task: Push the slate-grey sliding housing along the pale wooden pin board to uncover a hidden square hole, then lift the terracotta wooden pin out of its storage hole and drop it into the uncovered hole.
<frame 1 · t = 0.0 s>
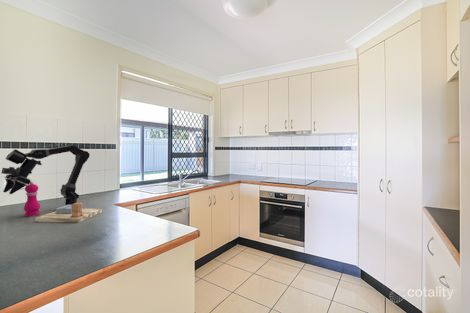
hand: (7, 193, 126), 15 cm above the counter, tool tilted 35°, fingers open, 9 cm apart
housing: (69, 208, 136), point 4 cm above the counter, slide at 0.0 cm
pepper mill: (32, 215, 135), on the counter
pin: (77, 219, 127), resting in pin board
pin board: (70, 216, 133), on the counter
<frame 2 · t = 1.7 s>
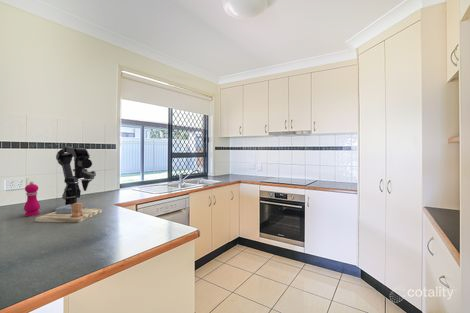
hand: (80, 192, 145), 12 cm above the counter, tool pointing down, fingers open, 8 cm apart
nothing on the counter moved.
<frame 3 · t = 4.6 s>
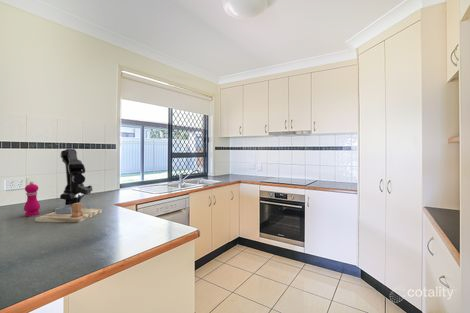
hand: (76, 207, 141), 3 cm above the counter, tool pointing down, fingers closed
housing: (69, 209, 135), point 4 cm above the counter, slide at 0.4 cm, touching gripper
everything else where it was.
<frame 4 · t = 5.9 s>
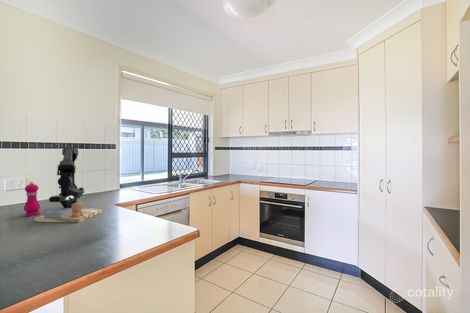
hand: (67, 210, 134), 3 cm above the counter, tool pointing down, fingers closed
housing: (59, 212, 128), point 4 cm above the counter, slide at 7.9 cm, touching gripper
everything else where it was.
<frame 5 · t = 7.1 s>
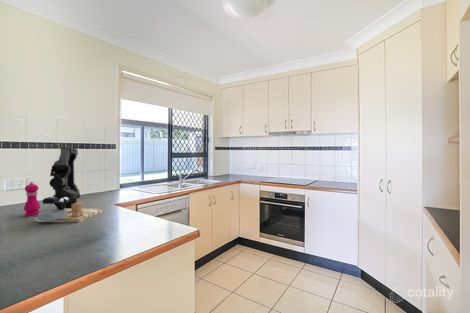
hand: (61, 212, 130), 3 cm above the counter, tool pointing down, fingers closed
housing: (53, 214, 124), point 4 cm above the counter, slide at 11.9 cm, touching gripper
everything else where it was.
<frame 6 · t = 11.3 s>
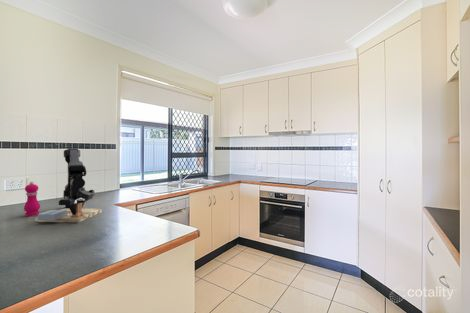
hand: (77, 214, 127), 3 cm above the counter, tool pointing down, fingers closed on pin, 3 cm apart
housing: (52, 214, 124), point 4 cm above the counter, slide at 11.9 cm
pin: (77, 219, 127), resting in pin board, touching gripper
everything else where it was.
when the fingers open (4 cm above the counter, at t = 15.9 s): pin drops 1 cm, resting in pin board.
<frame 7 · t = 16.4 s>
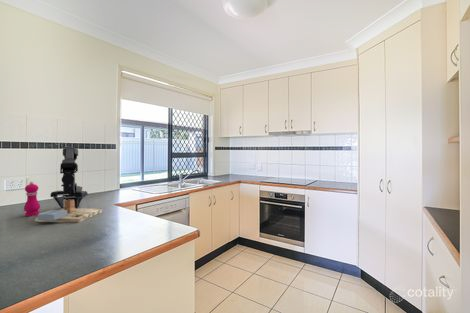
hand: (69, 208, 136), 4 cm above the counter, tool pointing down, fingers open, 9 cm apart
pin: (69, 215, 136), resting in pin board
everything else where it was.
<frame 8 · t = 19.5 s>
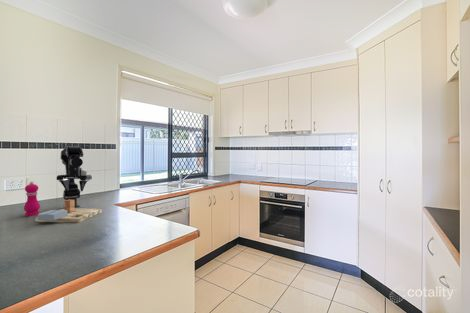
hand: (74, 191, 142), 13 cm above the counter, tool pointing down, fingers open, 9 cm apart
nothing on the counter moved.
at the end: pin 0.0 cm from the target spot on the pin board, point 0.0 cm above the pin board's base; pin tilted 0°; housing slide at 11.9 cm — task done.
